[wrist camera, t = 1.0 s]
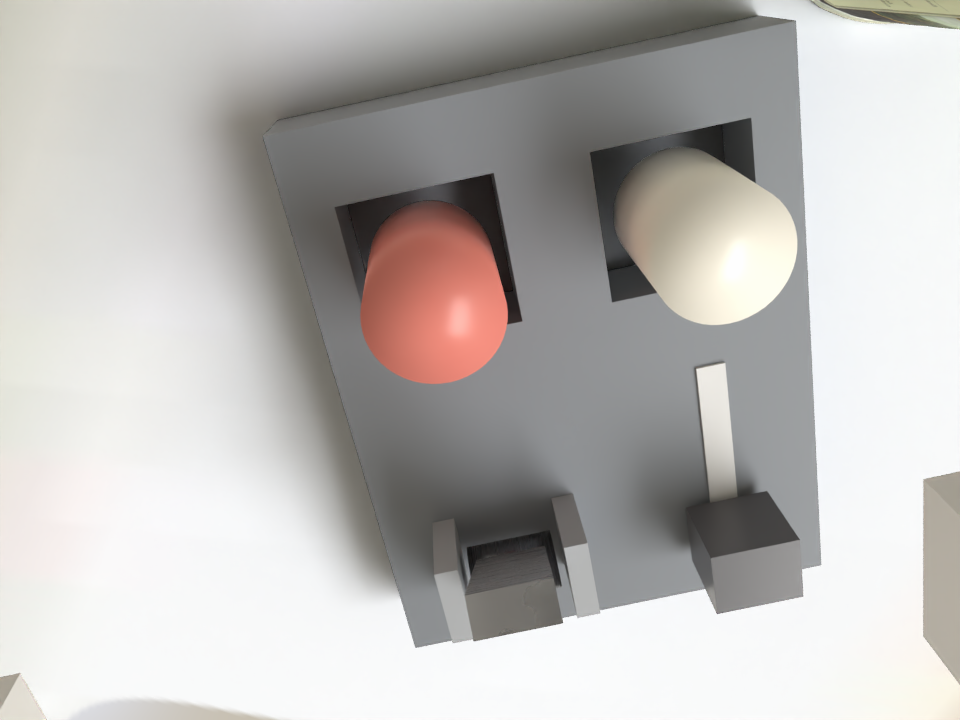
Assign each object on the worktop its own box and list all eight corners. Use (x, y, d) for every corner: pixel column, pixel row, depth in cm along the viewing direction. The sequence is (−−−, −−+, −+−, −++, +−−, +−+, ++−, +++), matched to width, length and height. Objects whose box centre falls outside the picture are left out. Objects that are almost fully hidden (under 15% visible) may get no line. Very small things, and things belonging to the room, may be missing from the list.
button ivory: (605, 161, 28) (642, 200, 23) (731, 134, 27) (793, 168, 23) (621, 280, 29) (659, 338, 25) (740, 255, 29) (800, 308, 25)
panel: (277, 120, 29) (244, 156, 23) (759, 15, 28) (841, 26, 23) (415, 597, 37) (415, 706, 32) (791, 520, 37) (856, 617, 31)
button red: (355, 215, 28) (343, 264, 23) (480, 188, 28) (492, 232, 23) (386, 330, 29) (380, 396, 25) (503, 305, 29) (519, 367, 25)
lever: (468, 544, 32) (450, 583, 23) (548, 527, 32) (561, 559, 23) (479, 598, 32) (465, 658, 23) (560, 582, 32) (577, 636, 23)
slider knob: (685, 507, 32) (710, 558, 29) (766, 490, 32) (799, 539, 29) (692, 560, 33) (717, 614, 30) (771, 544, 33) (803, 596, 30)
